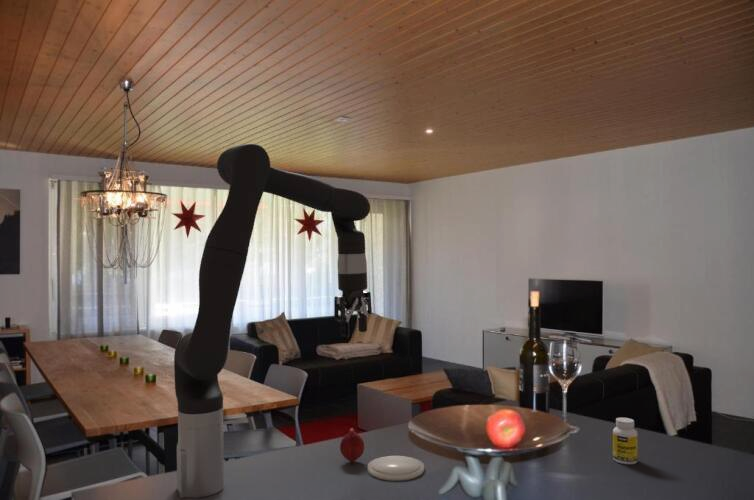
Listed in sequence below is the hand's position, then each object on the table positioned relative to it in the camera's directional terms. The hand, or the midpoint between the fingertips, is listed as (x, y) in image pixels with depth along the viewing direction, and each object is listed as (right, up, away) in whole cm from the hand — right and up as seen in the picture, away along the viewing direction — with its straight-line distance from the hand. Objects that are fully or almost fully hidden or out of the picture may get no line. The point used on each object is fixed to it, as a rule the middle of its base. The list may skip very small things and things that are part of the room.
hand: (354, 334), depth 151 cm
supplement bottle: (+65, -29, -12) cm, 72 cm away
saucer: (+10, -29, -16) cm, 35 cm away
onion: (0, -29, -11) cm, 31 cm away
